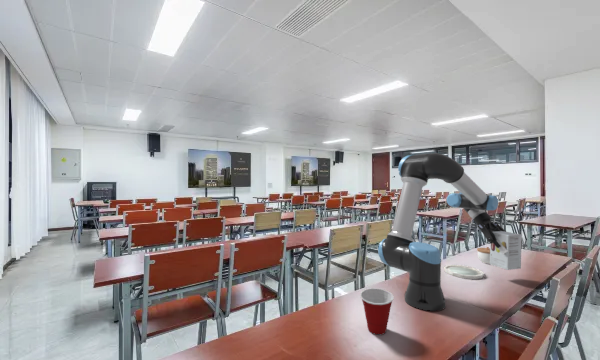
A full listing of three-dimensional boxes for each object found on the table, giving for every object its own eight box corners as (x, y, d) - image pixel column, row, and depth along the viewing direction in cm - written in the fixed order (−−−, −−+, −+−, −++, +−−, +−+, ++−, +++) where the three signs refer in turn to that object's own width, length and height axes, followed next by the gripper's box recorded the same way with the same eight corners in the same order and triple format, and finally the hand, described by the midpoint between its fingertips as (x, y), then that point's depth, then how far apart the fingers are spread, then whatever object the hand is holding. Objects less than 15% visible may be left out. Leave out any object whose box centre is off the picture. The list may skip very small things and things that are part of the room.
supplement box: (488, 264, 140) (489, 231, 140) (502, 263, 143) (502, 230, 143) (508, 270, 131) (508, 235, 131) (521, 268, 134) (522, 234, 134)
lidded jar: (498, 266, 158) (498, 250, 158) (476, 263, 165) (476, 247, 165) (498, 262, 167) (498, 246, 167) (477, 259, 173) (477, 244, 173)
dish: (463, 280, 136) (464, 277, 136) (436, 269, 153) (436, 266, 153) (492, 277, 141) (492, 274, 141) (462, 266, 158) (462, 263, 158)
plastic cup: (353, 330, 91) (353, 294, 91) (370, 318, 99) (370, 285, 99) (383, 344, 84) (383, 304, 84) (399, 330, 91) (399, 294, 91)
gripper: (486, 219, 156) (518, 253, 142) (461, 221, 146) (492, 258, 132) (497, 210, 151) (530, 245, 137) (471, 212, 141) (504, 249, 127)
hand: (512, 251), depth 134 cm, fingers closed on supplement box, 10 cm apart
